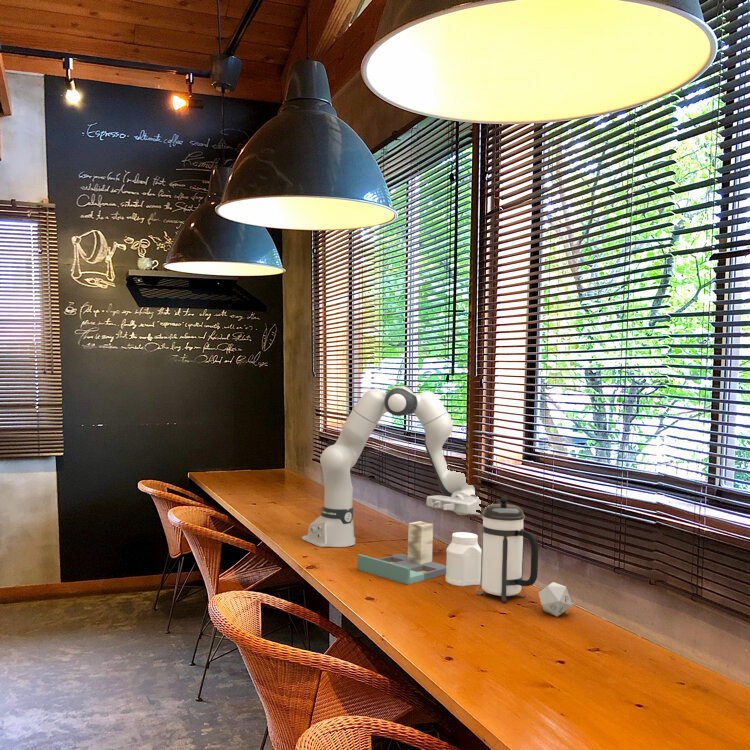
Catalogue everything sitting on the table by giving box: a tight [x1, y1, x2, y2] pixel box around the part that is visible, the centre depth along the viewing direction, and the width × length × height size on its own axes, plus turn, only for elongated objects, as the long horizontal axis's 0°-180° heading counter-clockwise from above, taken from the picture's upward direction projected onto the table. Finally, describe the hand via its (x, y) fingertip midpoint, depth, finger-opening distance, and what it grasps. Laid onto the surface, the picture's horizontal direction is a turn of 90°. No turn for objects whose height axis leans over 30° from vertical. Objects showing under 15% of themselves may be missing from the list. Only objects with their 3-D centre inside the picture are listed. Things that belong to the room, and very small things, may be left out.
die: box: [538, 581, 573, 618], centre depth 197 cm, size 8×9×10 cm
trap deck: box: [356, 553, 446, 586], centre depth 236 cm, size 23×22×5 cm
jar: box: [445, 531, 482, 587], centre depth 226 cm, size 12×10×15 cm
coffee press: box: [475, 496, 539, 604], centre depth 211 cm, size 17×16×30 cm
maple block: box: [407, 520, 434, 564], centre depth 242 cm, size 6×6×13 cm
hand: (438, 506), depth 248 cm, fingers open, 3 cm apart
